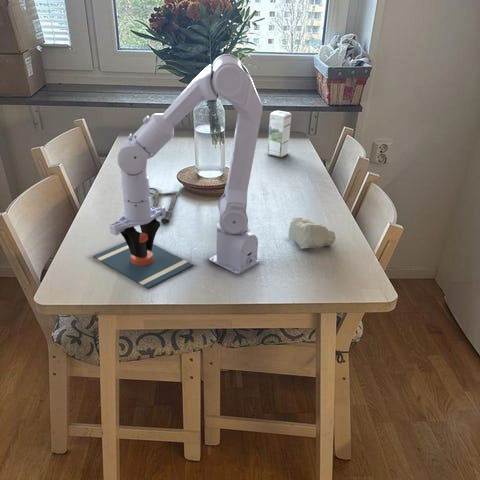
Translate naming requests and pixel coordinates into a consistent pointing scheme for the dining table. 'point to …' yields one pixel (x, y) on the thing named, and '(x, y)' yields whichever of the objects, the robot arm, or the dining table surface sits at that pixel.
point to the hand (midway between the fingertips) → (141, 252)
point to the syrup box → (279, 133)
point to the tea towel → (147, 274)
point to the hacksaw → (168, 213)
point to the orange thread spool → (142, 252)
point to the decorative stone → (310, 233)
